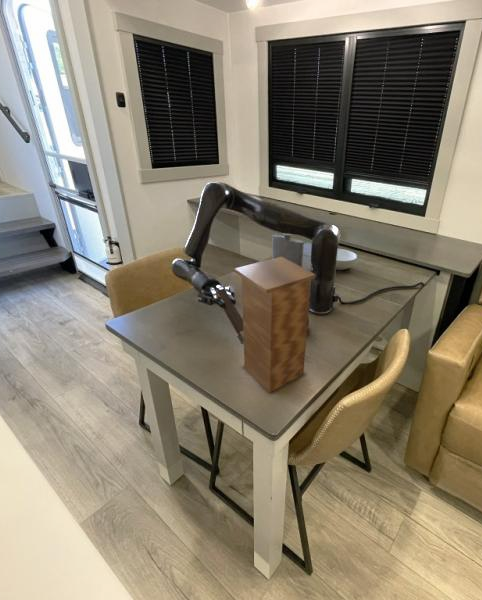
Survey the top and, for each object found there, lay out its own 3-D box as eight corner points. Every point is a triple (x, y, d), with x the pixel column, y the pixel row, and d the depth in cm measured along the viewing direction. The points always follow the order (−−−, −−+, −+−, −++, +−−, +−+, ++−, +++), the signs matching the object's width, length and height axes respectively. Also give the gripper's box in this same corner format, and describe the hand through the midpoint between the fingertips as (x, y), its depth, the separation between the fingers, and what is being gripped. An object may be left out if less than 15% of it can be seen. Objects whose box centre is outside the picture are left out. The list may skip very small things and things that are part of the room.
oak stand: (278, 348, 107) (281, 256, 91) (307, 372, 98) (315, 274, 82) (238, 367, 98) (233, 268, 82) (265, 395, 89) (266, 290, 73)
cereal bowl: (356, 275, 161) (359, 261, 158) (323, 272, 161) (324, 259, 158) (352, 261, 176) (354, 249, 173) (321, 259, 176) (323, 247, 172)
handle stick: (224, 291, 113) (226, 286, 111) (252, 340, 107) (255, 335, 104) (213, 294, 111) (215, 289, 108) (241, 344, 104) (244, 339, 102)
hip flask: (302, 276, 156) (305, 235, 146) (298, 279, 152) (301, 238, 143) (274, 268, 162) (275, 228, 152) (269, 271, 159) (270, 230, 149)
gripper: (185, 279, 113) (208, 300, 102) (222, 270, 121) (247, 288, 110) (187, 298, 116) (210, 320, 105) (223, 288, 125) (248, 307, 114)
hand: (229, 304), depth 108 cm, fingers closed on handle stick, 3 cm apart
